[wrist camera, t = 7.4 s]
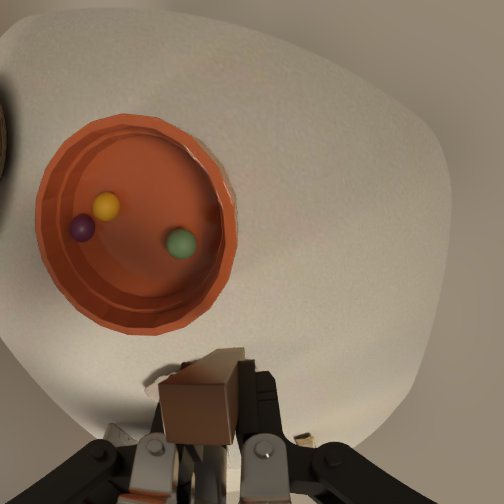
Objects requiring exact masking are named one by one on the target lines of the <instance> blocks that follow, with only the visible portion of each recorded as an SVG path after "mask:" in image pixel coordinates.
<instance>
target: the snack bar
mask: <svg viewBox="0 0 504 504" xmlns="http://www.w3.org/2000/svg"><path fill="white" fill-rule="evenodd" d="M296 442H297V444H298V446H303V447H312V448H316V446H315V442H314V437H299V438H296Z"/></svg>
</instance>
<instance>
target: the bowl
mask: <svg viewBox="0 0 504 504" xmlns="http://www.w3.org/2000/svg"><path fill="white" fill-rule="evenodd" d="M6 148H7V130H6V125H5V119H4V114H3V111H2V106H1V104H0V180H1V176H2V172H3V168H4V163H5V157H6Z"/></svg>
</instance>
